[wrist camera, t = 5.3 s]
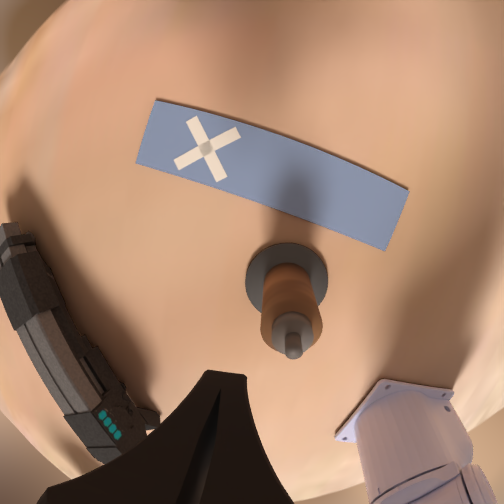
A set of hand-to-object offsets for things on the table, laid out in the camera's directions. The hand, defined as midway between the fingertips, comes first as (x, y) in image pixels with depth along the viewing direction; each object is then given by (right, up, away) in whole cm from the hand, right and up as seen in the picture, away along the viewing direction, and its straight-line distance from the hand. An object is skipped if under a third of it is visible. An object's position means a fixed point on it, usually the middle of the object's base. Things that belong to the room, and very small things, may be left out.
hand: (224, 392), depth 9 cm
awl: (+3, +3, +8) cm, 9 cm away
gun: (-13, -2, +12) cm, 18 cm away
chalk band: (+2, +9, +7) cm, 12 cm away
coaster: (+3, +3, +9) cm, 10 cm away
